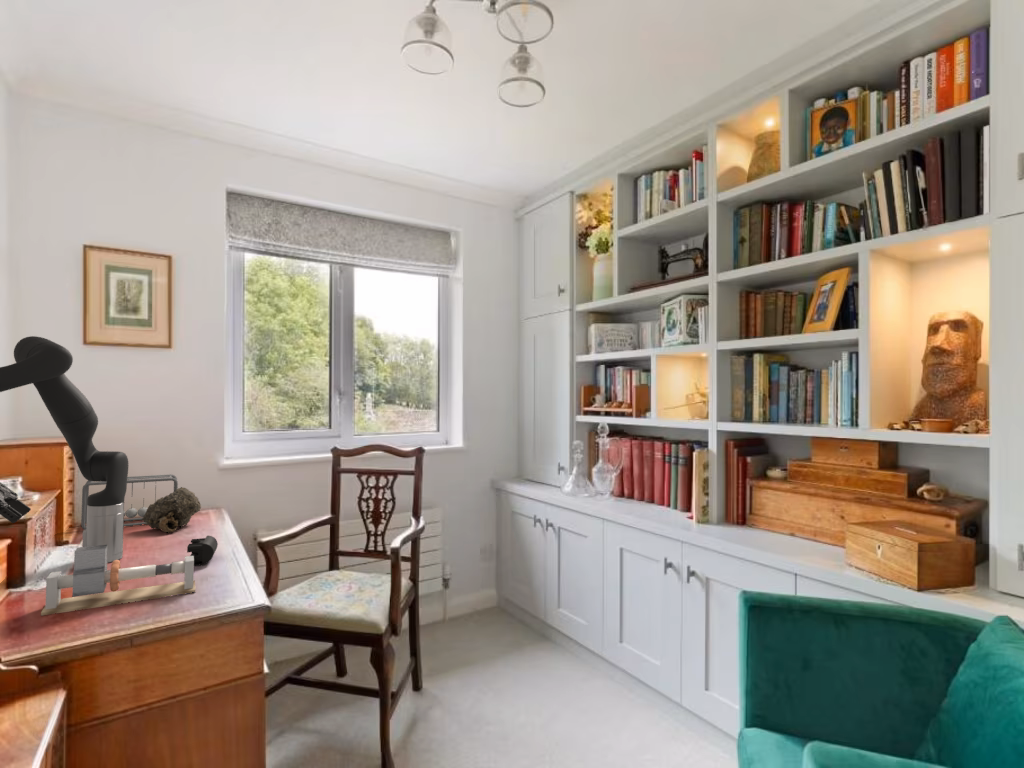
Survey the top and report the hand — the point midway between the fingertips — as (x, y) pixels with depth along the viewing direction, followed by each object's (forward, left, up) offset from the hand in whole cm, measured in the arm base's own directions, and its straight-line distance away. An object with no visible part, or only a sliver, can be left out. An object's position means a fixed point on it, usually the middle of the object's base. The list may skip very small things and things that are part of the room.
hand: (23, 516), depth 128 cm
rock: (-11, +77, -23) cm, 81 cm away
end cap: (+21, +40, -23) cm, 51 cm away
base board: (+18, +10, -23) cm, 30 cm away
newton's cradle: (-31, +85, -23) cm, 94 cm away
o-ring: (+16, +9, -20) cm, 27 cm away
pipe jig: (+18, +10, -23) cm, 30 cm away
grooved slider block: (+12, +6, -20) cm, 24 cm away
